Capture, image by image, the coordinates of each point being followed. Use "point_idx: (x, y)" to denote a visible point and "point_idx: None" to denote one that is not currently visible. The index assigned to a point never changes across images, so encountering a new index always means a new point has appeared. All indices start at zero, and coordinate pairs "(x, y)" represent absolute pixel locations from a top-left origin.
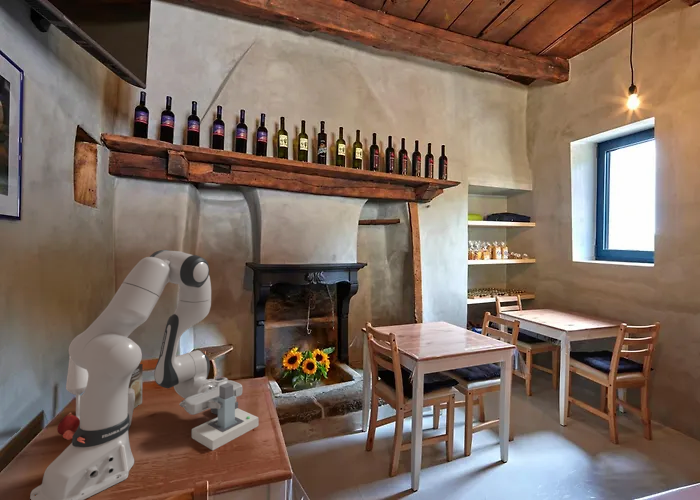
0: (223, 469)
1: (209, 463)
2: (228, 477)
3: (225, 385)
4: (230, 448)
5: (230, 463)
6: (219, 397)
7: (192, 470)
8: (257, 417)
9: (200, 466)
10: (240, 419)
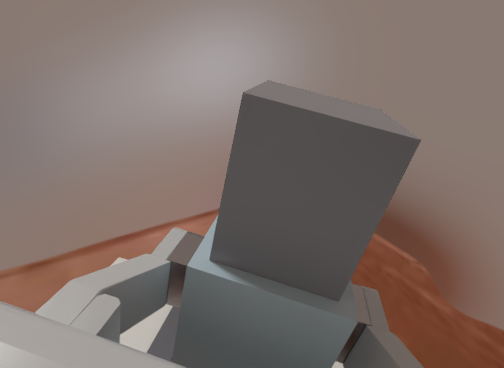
0: (390, 277)
1: (417, 331)
2: (392, 255)
3: (338, 107)
4: None
5: (362, 274)
6: (341, 298)
7: (485, 364)
8: (119, 261)
9: (452, 351)
10: (163, 327)
